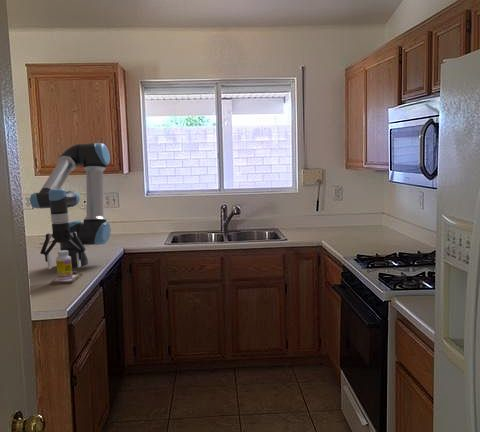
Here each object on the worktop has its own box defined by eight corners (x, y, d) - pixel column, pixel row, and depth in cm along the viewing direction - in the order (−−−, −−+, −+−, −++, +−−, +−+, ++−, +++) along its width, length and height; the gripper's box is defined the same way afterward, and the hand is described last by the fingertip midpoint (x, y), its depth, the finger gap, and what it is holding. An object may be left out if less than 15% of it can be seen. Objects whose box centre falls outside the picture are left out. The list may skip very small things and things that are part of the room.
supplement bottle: (66, 280, 238) (63, 252, 236) (54, 279, 240) (52, 252, 238) (75, 276, 244) (73, 249, 242) (64, 276, 246) (61, 249, 245)
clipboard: (61, 276, 251) (61, 271, 251) (82, 275, 251) (82, 270, 251) (50, 284, 235) (49, 279, 235) (72, 283, 236) (71, 278, 235)
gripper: (30, 225, 235) (34, 271, 238) (85, 222, 235) (89, 267, 238) (36, 222, 242) (40, 267, 245) (89, 219, 242) (93, 264, 245)
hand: (64, 267), depth 241 cm, fingers open, 13 cm apart
